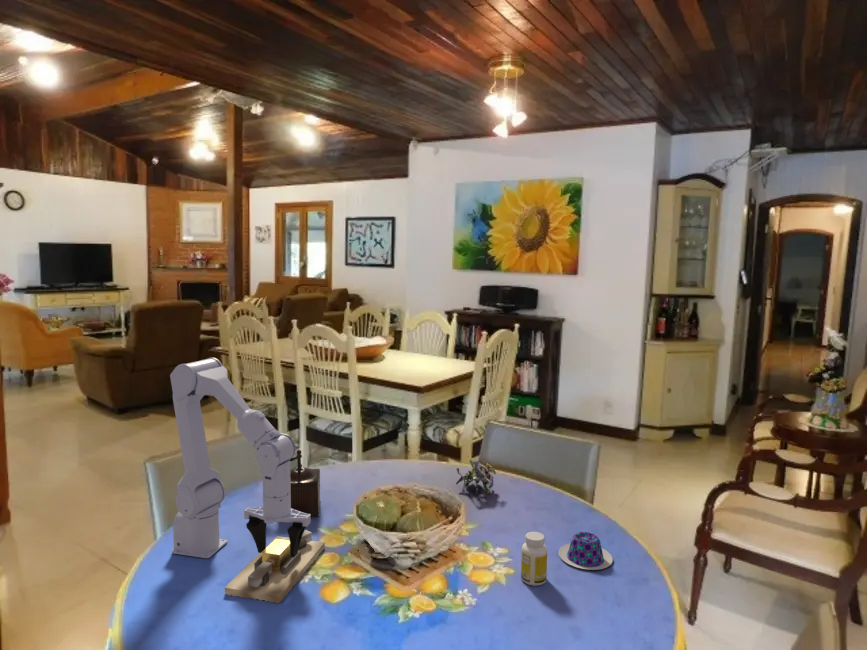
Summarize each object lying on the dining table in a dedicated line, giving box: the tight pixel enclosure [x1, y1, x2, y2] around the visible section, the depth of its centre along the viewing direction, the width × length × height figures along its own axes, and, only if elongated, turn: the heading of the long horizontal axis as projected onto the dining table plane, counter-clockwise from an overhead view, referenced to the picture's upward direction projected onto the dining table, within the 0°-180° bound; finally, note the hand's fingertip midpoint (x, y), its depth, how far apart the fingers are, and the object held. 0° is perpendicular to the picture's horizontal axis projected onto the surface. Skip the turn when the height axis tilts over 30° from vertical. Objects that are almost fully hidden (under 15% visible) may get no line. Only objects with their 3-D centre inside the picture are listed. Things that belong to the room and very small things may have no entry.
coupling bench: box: [224, 529, 326, 604], centre depth 128 cm, size 12×22×4 cm, turn 167°
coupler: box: [262, 538, 291, 573], centre depth 127 cm, size 4×7×4 cm, turn 167°
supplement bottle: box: [520, 531, 548, 587], centre depth 125 cm, size 5×5×10 cm
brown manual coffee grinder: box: [288, 449, 322, 518], centre depth 156 cm, size 16×11×18 cm
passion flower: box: [455, 458, 497, 496], centre depth 170 cm, size 11×11×12 cm
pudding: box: [558, 531, 614, 571], centre depth 135 cm, size 12×12×5 cm
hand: (278, 552), depth 127 cm, fingers open, 7 cm apart
